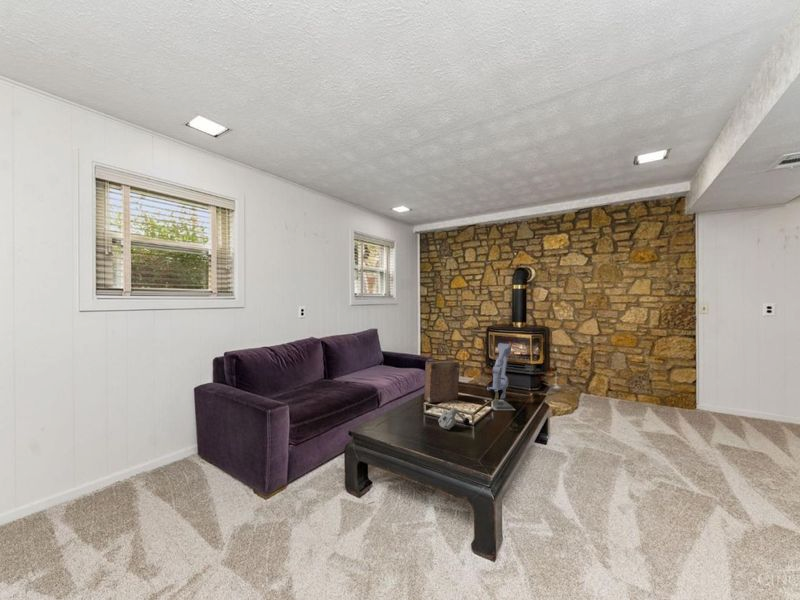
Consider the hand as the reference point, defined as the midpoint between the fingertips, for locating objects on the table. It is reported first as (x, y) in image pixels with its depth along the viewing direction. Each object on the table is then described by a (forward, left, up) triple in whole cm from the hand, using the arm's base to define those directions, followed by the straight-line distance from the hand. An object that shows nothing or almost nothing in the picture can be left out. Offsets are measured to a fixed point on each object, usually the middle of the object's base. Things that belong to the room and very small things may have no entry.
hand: (495, 399), depth 259 cm
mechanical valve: (+42, -44, -3) cm, 62 cm away
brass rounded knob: (0, 0, -2) cm, 2 cm away
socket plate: (+6, 0, -3) cm, 7 cm away
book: (-7, -41, -3) cm, 42 cm away
